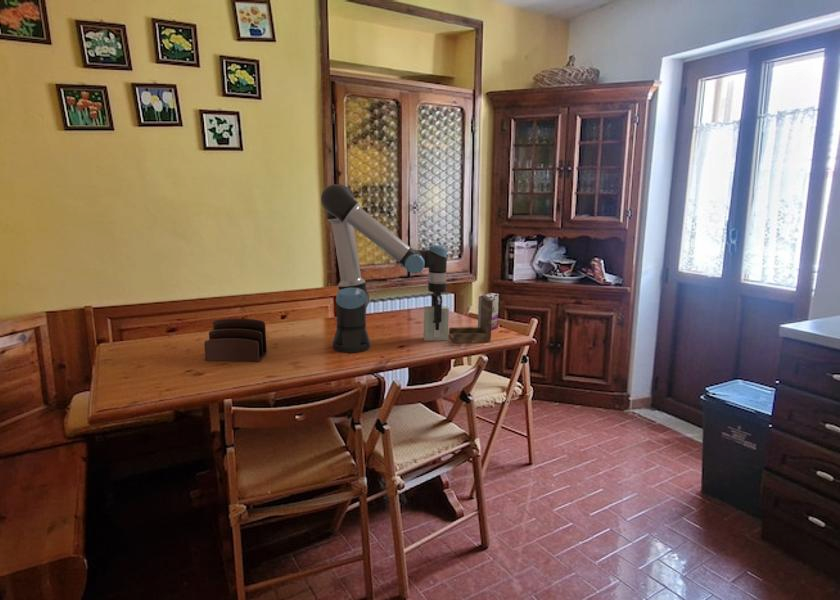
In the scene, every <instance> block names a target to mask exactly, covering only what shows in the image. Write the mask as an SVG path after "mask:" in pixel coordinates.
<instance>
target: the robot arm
mask: <svg viewBox="0 0 840 600" xmlns="http://www.w3.org/2000/svg"><path fill="white" fill-rule="evenodd" d="M320 204H321V205H322V208H323V209H324V210H325V211H326V212H325V213H326V214H325V215H326V219H327V221H328V222H329V223H330V224H331V226H332V232H333V233H332V234H333V239H334V246H335V253H336V258H337V265H338V269H339V270H338V271H339V277H340V282H339V283H337V286H338V291H337V292H336V297H335V302H336V331H335V333H334V336H333V339H332V349H333V350H334V351H337V352H339V353H348V354H349V353H351V354H352V353H360V352H365V351H367V350H369V349H371V340H370V337H369V334H368V331H367V330H368V329H367V323H366V322H367V308H368V306H369V303H370V295H369V292H368V289H367V283H366V280H365V279H363V277H362V274H361V265H360V262H359V261H360V260H359V254H358V253H359V252H358V247H357V241H356V235H355V230H357V231H358V232H359V233H360V234H361V235H363V236H364V237H366V238H367V239H368V240H370V242H372V243H373V244H375V245H376V246H377V247H378V248H380V249H381V250H382V251H384V252H385V254H387V255H389V256H390V257H392V259H394V260H395V261H396V262H397V263H399V264H400V267H401V268H404V269H406V271H407V272H408V273H409V274H412V275H416V274H420V273H421V272H422V271H423V270H424V269H428V274H427V277H428V284H427V290H428V292H429V293H432V294H431V307H434V321H433V323H434V331H433V337H440V322H441V314H442V306H443V296H442V295H441V294H442V293H445V292H446V291H447V283H446V281H447V277H448V274H447V265H448V249H447V246H445V245H441V244H438V245H437V244H436V245H435V244H431V245H430V246H428V249H426V250H423V249H413V248H411V246H410V245H408V244H407V243H405V241H403V240H402V239H401V238H400V237H398V236H397V235H395V234H394V233H393V232H392V231H390V230H389V229H388V228H387V227H386V226H384V225H383V224H381V222H379V221H378V220H376V218H374V217H373V216H372V215H370V214H369V213H368V212H367V211H366V210H364V209H363V208H361V206H360V202H358V201H357V200H356V199H355V195H354V194H353V192H352V190H351V189H350V188H349V187H348V186H347V185H344V184H337V183H335V184H330V185H328V186H326V187H324V189H323V190H322V192H321V195H320Z"/></svg>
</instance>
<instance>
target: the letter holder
mask: <svg viewBox="0 0 840 600" xmlns="http://www.w3.org/2000/svg"><path fill="white" fill-rule="evenodd" d="M212 327H213V328H212V330H209V332H208V339H207V340H204V344H203V345H204V361H206V362H252V363H254V362H257V363H259V362H260V361H261V360H262V359H264V357H265V356H266V355H267V353H268V351H267V350H268V348H267V333H266V332H267V331H266V323H265V321H263V320H261V319H260V320H258V319H252V318H238V317H237V318H221V319H214V320H213V322H212Z"/></svg>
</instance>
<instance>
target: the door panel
mask: <svg viewBox="0 0 840 600" xmlns="http://www.w3.org/2000/svg"><path fill="white" fill-rule="evenodd" d="M449 310H450V308H449V306H443V305H442V314H441V322H440V337H433V331H434V323H433V321H434V307H432V306H423V340H424V341H427V342H428V341H448V340H449V318H450V317H449V313H450V311H449Z"/></svg>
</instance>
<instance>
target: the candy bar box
mask: <svg viewBox="0 0 840 600" xmlns="http://www.w3.org/2000/svg"><path fill="white" fill-rule="evenodd" d="M482 296H487V297H489V298H490V299H491V300H492V301H493V305H492V324H491V331H493V330H495V329H498V328H499V327H498V325H499V302H500V294H499V293H495V292H494V293H493V292H489V293H486V294H483V295H479V296H478V305H477V306H478V307H477V309H478V310H477V311H478V312H477V327H480V320H481V299H482Z"/></svg>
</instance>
